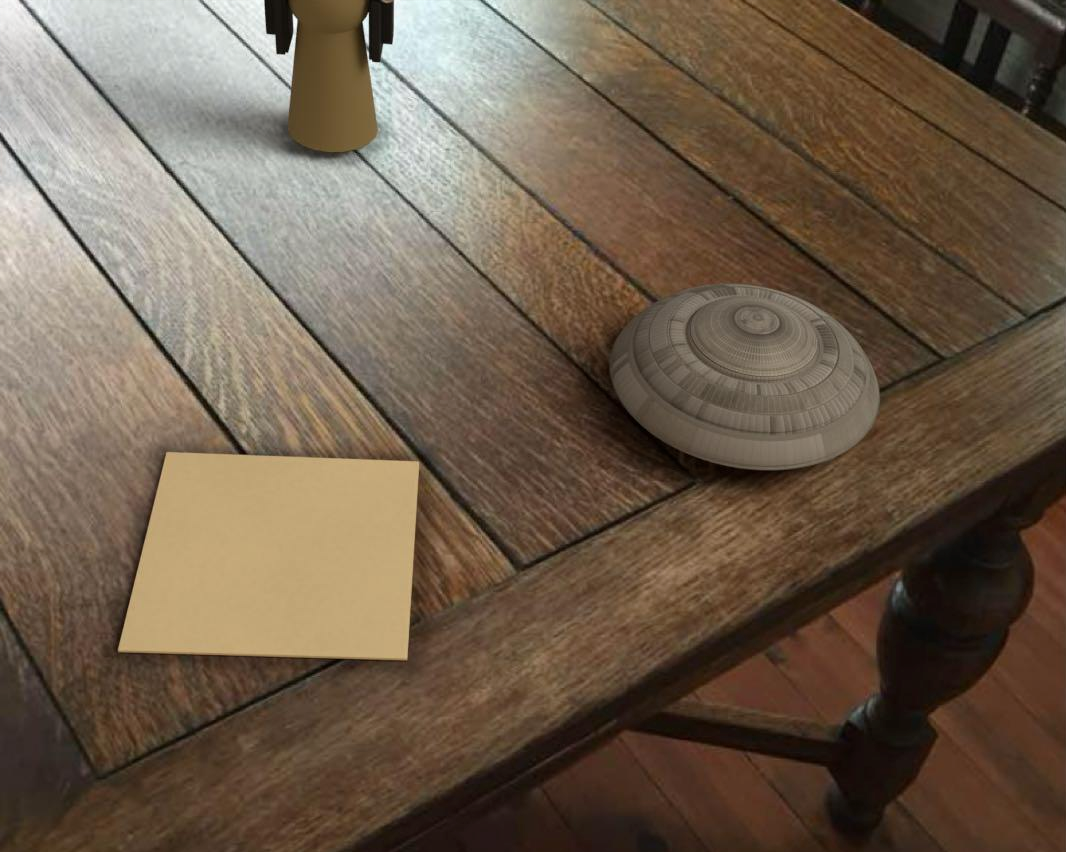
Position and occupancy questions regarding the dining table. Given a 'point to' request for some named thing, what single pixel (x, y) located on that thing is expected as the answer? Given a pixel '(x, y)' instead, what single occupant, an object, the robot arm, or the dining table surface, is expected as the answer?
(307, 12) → the brown peg doll
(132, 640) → the felt square
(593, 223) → the dining table surface
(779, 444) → the flying saucer
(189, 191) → the dining table surface
